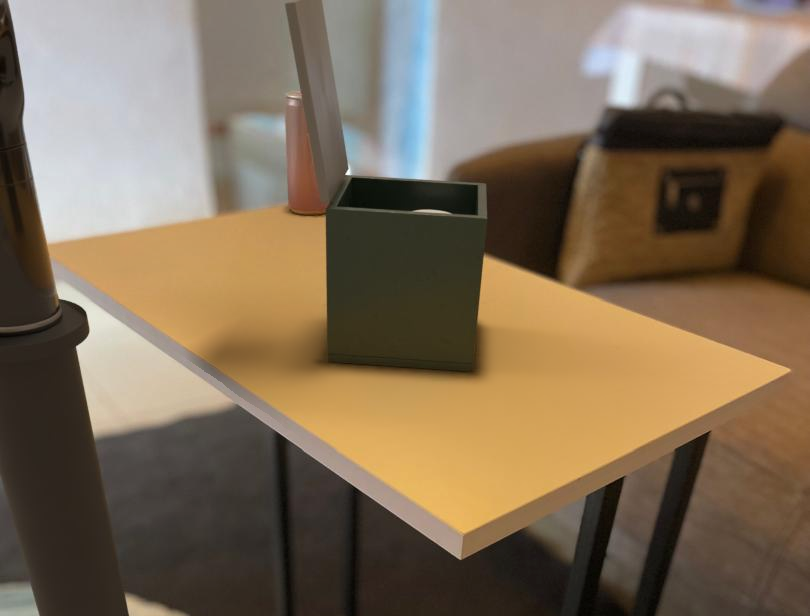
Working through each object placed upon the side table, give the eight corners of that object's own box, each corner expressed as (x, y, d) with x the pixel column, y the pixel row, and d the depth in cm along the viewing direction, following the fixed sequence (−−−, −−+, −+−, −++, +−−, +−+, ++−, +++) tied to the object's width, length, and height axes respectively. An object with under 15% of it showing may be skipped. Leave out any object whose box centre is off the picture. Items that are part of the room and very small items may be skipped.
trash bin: (473, 322, 88) (486, 183, 80) (472, 372, 78) (487, 218, 70) (344, 313, 88) (344, 174, 80) (327, 362, 78) (325, 208, 70)
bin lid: (321, -7, 72) (312, -5, 72) (295, 1, 62) (284, 3, 62) (348, 169, 80) (340, 170, 80) (329, 202, 70) (320, 203, 70)
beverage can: (316, 203, 124) (313, 89, 116) (337, 212, 121) (337, 96, 112) (280, 207, 122) (275, 91, 113) (301, 217, 118) (298, 98, 109)
